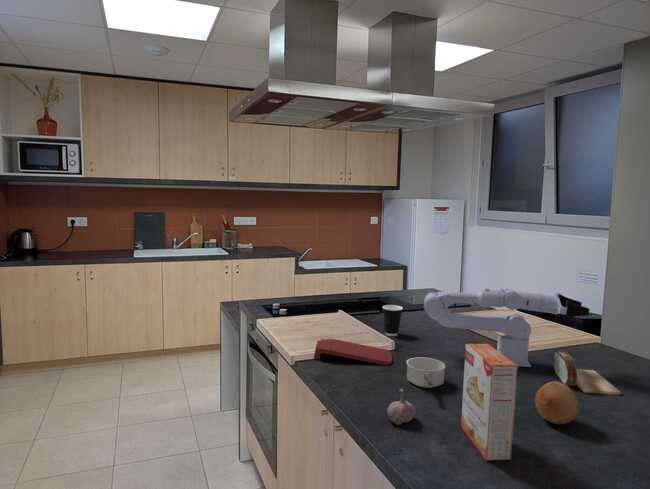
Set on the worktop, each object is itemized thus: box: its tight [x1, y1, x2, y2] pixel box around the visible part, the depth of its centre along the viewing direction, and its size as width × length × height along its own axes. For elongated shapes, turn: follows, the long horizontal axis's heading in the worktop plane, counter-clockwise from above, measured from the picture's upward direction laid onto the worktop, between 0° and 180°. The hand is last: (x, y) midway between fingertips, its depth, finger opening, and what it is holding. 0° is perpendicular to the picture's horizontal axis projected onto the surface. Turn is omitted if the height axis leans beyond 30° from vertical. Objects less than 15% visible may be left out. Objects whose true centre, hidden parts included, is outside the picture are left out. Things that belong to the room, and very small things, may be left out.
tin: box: [553, 349, 577, 387], centre depth 141 cm, size 15×3×8 cm, turn 168°
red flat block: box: [313, 338, 393, 366], centre depth 156 cm, size 12×5×26 cm
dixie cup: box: [382, 304, 404, 337], centre depth 183 cm, size 8×8×11 cm
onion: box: [534, 380, 581, 425], centre depth 114 cm, size 10×10×10 cm
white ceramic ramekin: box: [405, 356, 447, 388], centre depth 133 cm, size 12×20×6 cm, turn 172°
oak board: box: [575, 368, 622, 396], centre depth 141 cm, size 10×17×1 cm, turn 173°
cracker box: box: [460, 343, 519, 462], centre depth 102 cm, size 14×6×21 cm, turn 5°
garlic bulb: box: [386, 388, 416, 426], centre depth 113 cm, size 8×7×8 cm
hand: (584, 308), depth 150 cm, fingers open, 7 cm apart
